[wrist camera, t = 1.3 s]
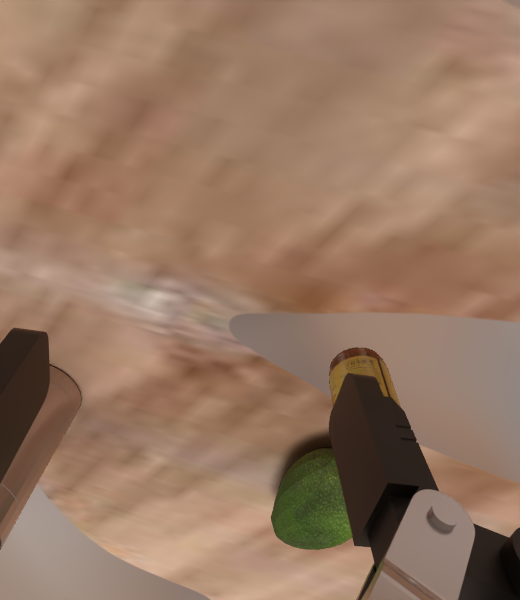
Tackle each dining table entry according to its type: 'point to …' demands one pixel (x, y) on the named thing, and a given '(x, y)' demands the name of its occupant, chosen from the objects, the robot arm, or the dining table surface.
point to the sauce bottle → (360, 370)
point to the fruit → (311, 504)
